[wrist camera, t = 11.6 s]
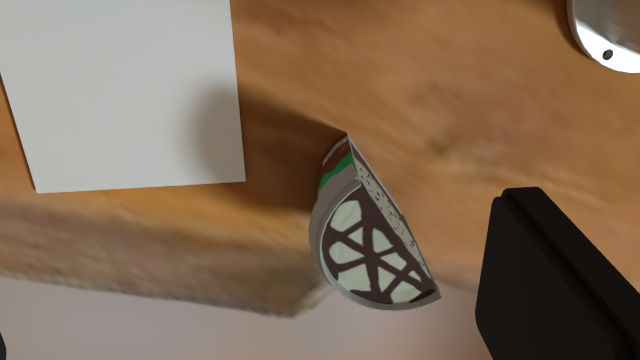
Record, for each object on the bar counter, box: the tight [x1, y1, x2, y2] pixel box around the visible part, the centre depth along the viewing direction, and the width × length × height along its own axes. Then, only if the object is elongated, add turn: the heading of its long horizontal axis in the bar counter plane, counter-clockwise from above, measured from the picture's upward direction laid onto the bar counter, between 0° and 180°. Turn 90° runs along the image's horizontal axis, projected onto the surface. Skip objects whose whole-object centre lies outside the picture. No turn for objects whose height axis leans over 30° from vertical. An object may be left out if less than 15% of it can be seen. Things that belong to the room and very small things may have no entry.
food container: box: [309, 133, 442, 312], centre depth 40 cm, size 12×6×10 cm, turn 33°
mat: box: [0, 0, 246, 193], centre depth 38 cm, size 16×16×1 cm
